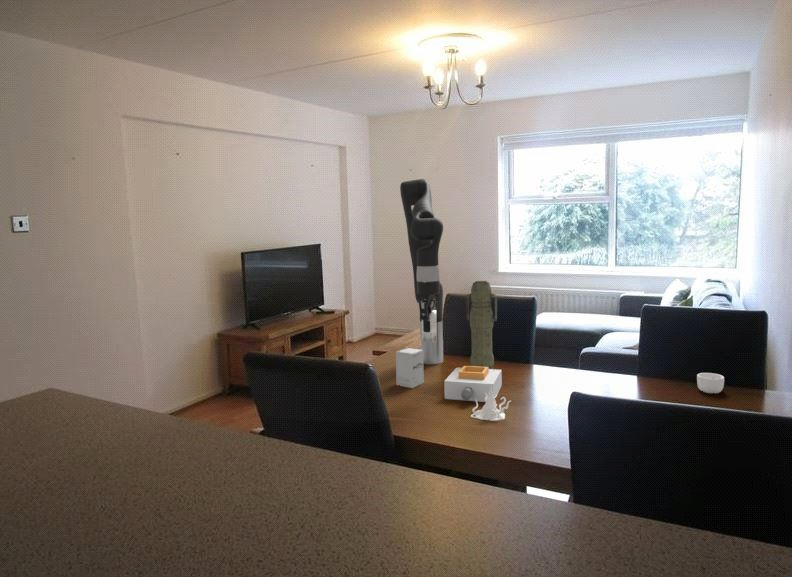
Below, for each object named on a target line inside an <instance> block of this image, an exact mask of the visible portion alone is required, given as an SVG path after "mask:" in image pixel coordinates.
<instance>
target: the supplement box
mask: <svg viewBox="0 0 792 577" xmlns="http://www.w3.org/2000/svg"><path fill="white" fill-rule="evenodd" d="M424 372H425V371H424V363H423V350H421V349H420V348H418V349H417V348H409V347H407V348H403V349H400V350H397V351H395V377H396V378H395V379H396V382H395V383H396V386H399V385H400V387H404V388H409V389H410V388H411V389H414V388H416V387H417V386H420V385H422V384H424V382H425V381H424V380H425V379H424V378H425V377H424V374H425V373H424Z"/></svg>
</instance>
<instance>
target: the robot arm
mask: <svg viewBox="0 0 792 577" xmlns="http://www.w3.org/2000/svg"><path fill="white" fill-rule="evenodd" d="M399 186H400V187H399V188H400V199H401V203H402V207H403V212H404V217H405V222H406V232H407V240H408V247H409V253H410V257H411V258H410V259H411V264H412V273H413V283H414V284H413V286H414V296H415V297H414V298H415V300H416V303H417V304H418V307H419V334H420V335H419V336H420V338H419V340H420V341H419V343H420V348H419V349H420V350H423V365H424V364H425V365H438V364H442V363H444V337H443V335H444V333H443V332H444V330H443V327H444V326H443V307H444V306H443V302H444V300H443V299H444V289H443V284H442V283H441V281H440V278H441V276H440V268H439V251H440V250H439V249H440V243H441V240H442V237H443V232H444V224H443V221H442V220H441V219H440V218H439V217H435V214H434V211H433V208H432V207H433V205H432V204H433V202H432V200H433V199H432V191H431V187H430V182H429V181H428V180H427V179H425V178H420V179H419V178H418V179H412V180H407V181H402V182H401V183H400V185H399ZM432 310H436V314H437V341H434V342H424V341H422V321H423V331H424V332H430V316H431V314H432ZM425 314H426V316H425Z"/></svg>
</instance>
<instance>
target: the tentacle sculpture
mask: <svg viewBox="0 0 792 577" xmlns="http://www.w3.org/2000/svg"><path fill="white" fill-rule="evenodd" d="M485 394H486V393H485ZM497 396H498V394H497V395H496V396H495V397H494V395H493V392H492V386H491V388H490V392H489V394H488V396H487V394H486V397H485V402H484V403H485V404H484V405H483V406H482V408H481V409H478V410H476V409H477V408H478V407H479V403H478V401H476V399H475V401H474V402H475V404H476V406H474V407H473V408H472V410H471V411H472V414H471V415H470V418H473V419H478V420H484V421H491V422H492V421H493V422H494V421H502V420H505V418H506V414H505V410H506V409H508V408H509V405H510V403H512V400H508V401H507V399H506V397H505V396H502V397H501V398H500V400H501V401H502V400H503V401H502V402H501V403H499V405H498V404H497V401H496V399H497ZM494 398H496V399H494ZM486 399H487V400H486ZM506 401H507V403H506ZM504 405H506V406H504ZM497 406H498V408H499V409H498V408H497ZM475 410H476V411H475Z"/></svg>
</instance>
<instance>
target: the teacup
mask: <svg viewBox="0 0 792 577" xmlns="http://www.w3.org/2000/svg"><path fill="white" fill-rule="evenodd" d="M696 382H697V383H696V384H697V388H698V389H699V391H701V392H702V391H703V392H702V393H705V394H706V393H707V394H713V393H714V394H719V393H721V392H722V391H723V389H724V386H725V376H723V375H721V374H718V373H712V372H700V373H698V374H696Z"/></svg>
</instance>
